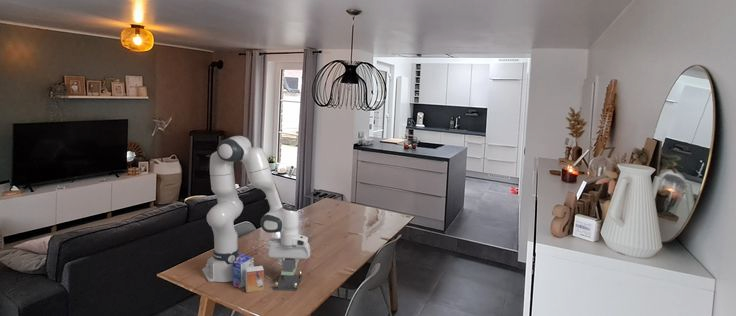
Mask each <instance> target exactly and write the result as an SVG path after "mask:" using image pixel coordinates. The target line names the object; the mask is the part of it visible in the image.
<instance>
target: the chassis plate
mask: <svg viewBox="0 0 736 316" xmlns="http://www.w3.org/2000/svg"><path fill="white" fill-rule="evenodd" d="M282 271H283V269H281V270H280V273H281V272H282ZM302 278H303V275H302V270H299V271H298V274H294V275H281V274H280V276H279V278H278V280H277V281H275V282H274V287H273V290H274V291H286V292H287V291H289V292H297V291H298V289H299V286H300V283H301V281H302Z"/></svg>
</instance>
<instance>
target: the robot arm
mask: <svg viewBox="0 0 736 316" xmlns="http://www.w3.org/2000/svg"><path fill="white" fill-rule="evenodd" d="M240 162H242V163H243V166H244V168H245V172H246V176H247V178H248V181H249V183H250V185H251V186H252V187H253V188H255V189H258V190H261V191H262V192H263V193H264V194H265V197H266V199H267V202H268V205H269V211H268V212H266V213H265V214H264V215H263V216H262V217H261V219H260V221H259V222H260V223H259V224H260V227H261V229H262V230H263V231H264V232H265V233H268V234H271V233H272V234H273V233H279V234H280V238H273V237H272V238H270V239H268V241H267V245H268V250H267V256H268V257H269V258H271V259H272V258H278V260H279V262H280V263H281V267H283V262H284V259H285V258H295V262H294V267H297V268H298V263H299V261H300V259H303V260H308V259H309V258H310V257H311V246H310V245H311V244H310V243H309V242H308V241H309V237H308V236H305V235H302V234H300V233H299V232H300V231H299V225H300V219H299V218H300V216H299V211H298V209H297V207H295V206H293V205H284V204H283V201H282V199H281V195H280V193H279V190H278V187H277V185H276V182H275V180H274V178H273V174H272V169H271V166H270V163H269V161H268V157H267V155H266V153H265V151H264V149H263V148H261V147H259V146H254V142H253V140H252V139H251V138H250V137H248V136H246V135H241V134H239V135H235V136H231V137H229V138H228V137H227V138H226V139H223V140H221V141H220V142H219V143H218V145H217V147H216V151H214V152H213V153H211V155H210V157H209V175H210V176H209V177H210V178H209V179H210V186H211V187H210V188H211V191H212V193H213V194H214V195H215V198H216V200H217V204H215V205H214V206H213V207H211V208H210V210H209V211H208V212H207V213H206V222H207V223H208V225H209V226H210V227H211V230H212V232H213V243H214V245H213V246H214V248H213V249H212V251H213V252H212V256H211V257H210V258H208V259H207V261H206V264H205V266H204V267H203V268H202V269H201V270H202V271H201V272H202V274H203V275H204V277H205V279H206V280H207V282H209V283H210V282H211V283H213V282H217V283H228V282H233V264H232V263H233V262H235V261H236V260H238V259H239V257H238V256H239V255H240V251H239V250H240V249H239V242H238V241H239V238H238V237H239V235H238V232H237V231H236V230H235V225H234V222H235V220H236V219H237V218H238V217H239V216H241V214H242V212H243V209H244V204H243V201H242V200H241V199H240V198H239V195H238V192H237V188H236V180H235V179H236V178H235V169H234V163H240ZM240 258H242V256H241V257H240Z"/></svg>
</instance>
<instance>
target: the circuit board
mask: <svg viewBox="0 0 736 316" xmlns="http://www.w3.org/2000/svg"><path fill="white" fill-rule="evenodd" d="M283 261H284V262H283V266H282V267H283V269H282V270H283V271H282V272H281V271H280V276H281V275H295V274H296V270H297V268H298V266H297V267H294V262H296V258H284V259H283Z"/></svg>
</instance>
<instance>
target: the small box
mask: <svg viewBox="0 0 736 316" xmlns="http://www.w3.org/2000/svg"><path fill="white" fill-rule="evenodd" d="M264 277H265V270H264V267H263V265H257V266H255V265H254V267H246V280H245V286H244V287H245V291H246V293H247V294H249V293H253V292H255V293H256V292H263V291H265V289H264V288H265V287H264V286H265V285H264V284H265V282H264V281H265V278H264Z"/></svg>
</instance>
